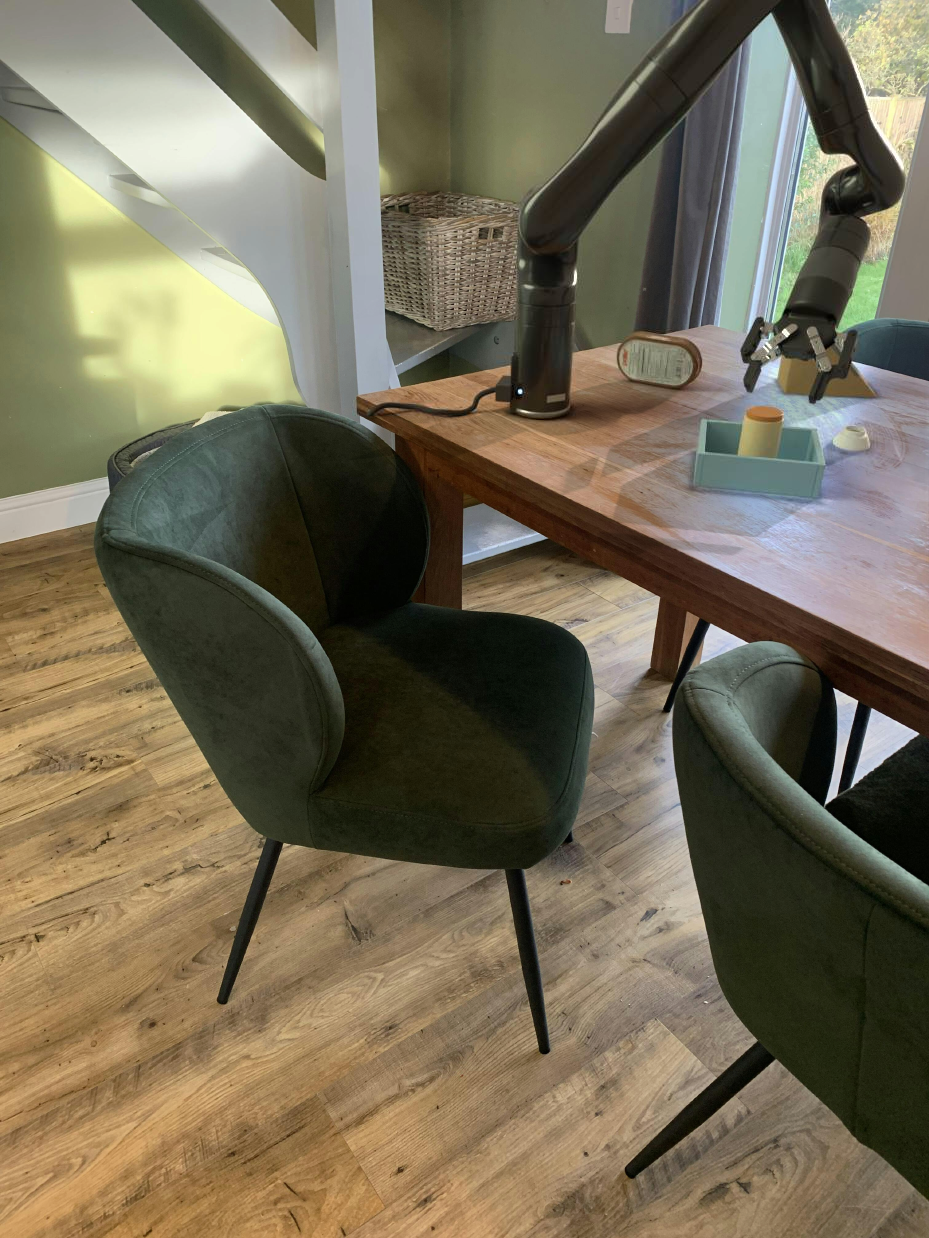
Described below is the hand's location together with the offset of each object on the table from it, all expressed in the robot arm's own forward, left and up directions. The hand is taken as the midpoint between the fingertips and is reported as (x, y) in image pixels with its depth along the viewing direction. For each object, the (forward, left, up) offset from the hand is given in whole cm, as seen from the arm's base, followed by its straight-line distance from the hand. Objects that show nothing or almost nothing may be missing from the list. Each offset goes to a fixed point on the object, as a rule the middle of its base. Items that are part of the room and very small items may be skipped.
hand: (779, 395), depth 118 cm
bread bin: (-2, -5, -10) cm, 11 cm away
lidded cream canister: (-2, -5, -9) cm, 11 cm away
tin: (-18, +33, -10) cm, 39 cm away
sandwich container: (+11, +38, -10) cm, 41 cm away
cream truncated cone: (+12, +9, -10) cm, 18 cm away
